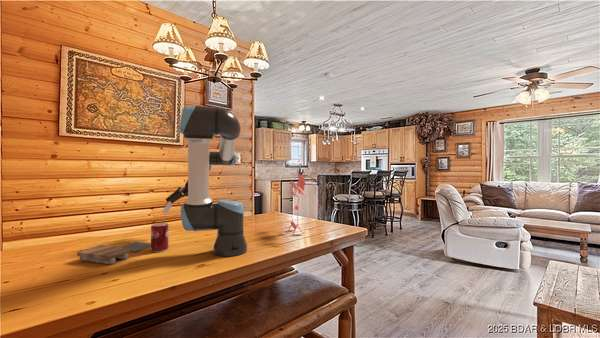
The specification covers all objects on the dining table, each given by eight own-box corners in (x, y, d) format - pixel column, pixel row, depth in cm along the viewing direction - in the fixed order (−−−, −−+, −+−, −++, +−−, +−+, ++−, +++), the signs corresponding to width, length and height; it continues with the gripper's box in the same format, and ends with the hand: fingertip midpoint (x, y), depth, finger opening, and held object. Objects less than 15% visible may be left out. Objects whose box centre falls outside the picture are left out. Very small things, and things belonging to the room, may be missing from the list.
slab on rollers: (130, 257, 115) (130, 248, 115) (108, 266, 105) (108, 256, 105) (101, 254, 119) (101, 245, 119) (77, 261, 109) (77, 252, 109)
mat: (155, 244, 133) (155, 243, 133) (134, 252, 122) (134, 251, 122) (136, 242, 136) (136, 241, 136) (114, 250, 125) (114, 248, 125)
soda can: (153, 253, 120) (153, 226, 120) (149, 249, 126) (149, 224, 125) (170, 250, 125) (170, 224, 125) (166, 246, 130) (166, 222, 130)
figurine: (295, 238, 147) (297, 174, 146) (282, 228, 171) (284, 172, 171) (321, 237, 152) (323, 174, 151) (305, 227, 176) (307, 173, 176)
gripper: (217, 187, 149) (200, 219, 135) (179, 185, 155) (159, 216, 141) (211, 178, 144) (193, 210, 129) (172, 177, 150) (150, 208, 136)
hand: (175, 213), depth 135 cm, fingers open, 13 cm apart
